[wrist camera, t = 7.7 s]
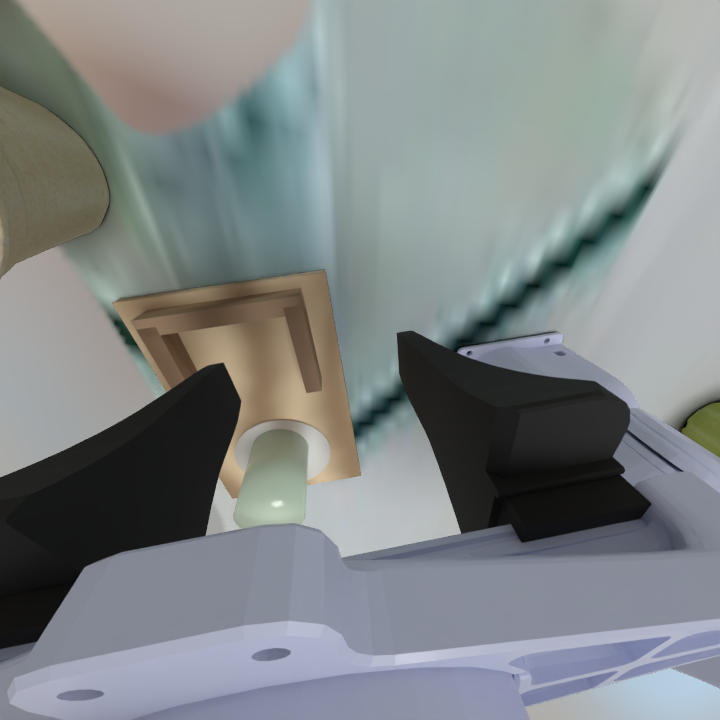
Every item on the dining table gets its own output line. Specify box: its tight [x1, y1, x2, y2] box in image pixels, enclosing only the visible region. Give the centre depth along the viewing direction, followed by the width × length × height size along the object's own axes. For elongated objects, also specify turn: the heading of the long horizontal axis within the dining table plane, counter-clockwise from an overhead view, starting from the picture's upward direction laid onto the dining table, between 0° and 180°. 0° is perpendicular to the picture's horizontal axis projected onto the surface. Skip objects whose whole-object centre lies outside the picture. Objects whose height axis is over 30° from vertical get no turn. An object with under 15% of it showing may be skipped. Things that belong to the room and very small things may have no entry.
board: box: [112, 270, 361, 499], centre depth 23 cm, size 14×22×3 cm, turn 7°
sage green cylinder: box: [233, 429, 309, 529], centre depth 24 cm, size 5×8×6 cm, turn 6°
